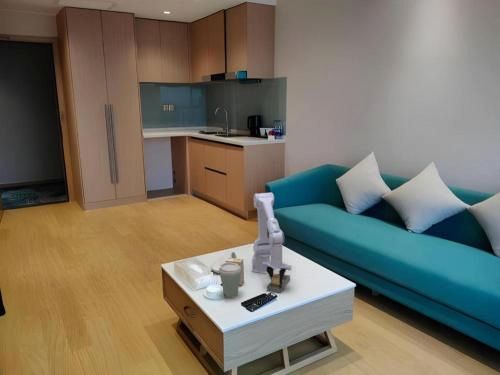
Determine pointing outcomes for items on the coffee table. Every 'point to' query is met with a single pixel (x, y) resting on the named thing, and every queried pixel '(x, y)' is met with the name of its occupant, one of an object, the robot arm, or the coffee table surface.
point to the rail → (280, 289)
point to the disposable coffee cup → (230, 278)
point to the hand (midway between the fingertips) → (276, 281)
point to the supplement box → (240, 263)
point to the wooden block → (275, 280)
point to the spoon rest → (222, 261)
